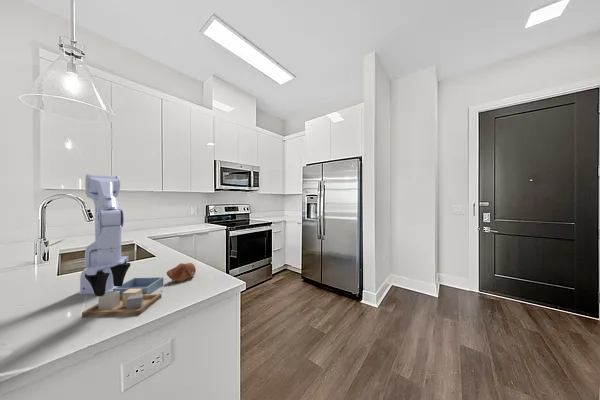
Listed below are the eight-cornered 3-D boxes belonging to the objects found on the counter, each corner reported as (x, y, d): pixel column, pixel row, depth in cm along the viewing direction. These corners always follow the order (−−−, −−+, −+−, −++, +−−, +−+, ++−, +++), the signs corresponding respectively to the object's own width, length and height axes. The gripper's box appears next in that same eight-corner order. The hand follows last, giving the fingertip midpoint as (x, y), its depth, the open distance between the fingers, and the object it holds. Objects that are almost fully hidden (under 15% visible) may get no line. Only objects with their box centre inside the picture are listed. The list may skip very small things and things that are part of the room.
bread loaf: (167, 278, 88) (173, 254, 94) (158, 283, 93) (165, 260, 99) (198, 282, 96) (202, 260, 102) (189, 287, 101) (193, 265, 107)
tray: (81, 318, 65) (81, 312, 65) (112, 300, 77) (112, 295, 77) (139, 316, 66) (140, 310, 66) (161, 298, 78) (161, 293, 78)
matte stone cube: (126, 312, 67) (126, 299, 67) (129, 308, 70) (129, 295, 70) (141, 310, 69) (141, 297, 69) (143, 306, 72) (143, 293, 72)
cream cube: (122, 307, 71) (122, 292, 71) (129, 302, 74) (129, 288, 74) (135, 306, 71) (135, 292, 71) (141, 302, 75) (142, 288, 75)
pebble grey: (98, 309, 69) (98, 295, 69) (106, 305, 72) (106, 291, 72) (112, 309, 69) (112, 295, 69) (119, 304, 73) (119, 290, 73)
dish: (112, 298, 78) (112, 288, 78) (133, 286, 89) (134, 277, 89) (146, 298, 79) (146, 288, 79) (163, 285, 90) (163, 277, 90)
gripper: (105, 252, 64) (105, 300, 64) (137, 243, 78) (137, 282, 78) (78, 253, 63) (78, 301, 63) (116, 243, 78) (115, 282, 78)
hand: (109, 290), depth 71 cm, fingers open, 7 cm apart
